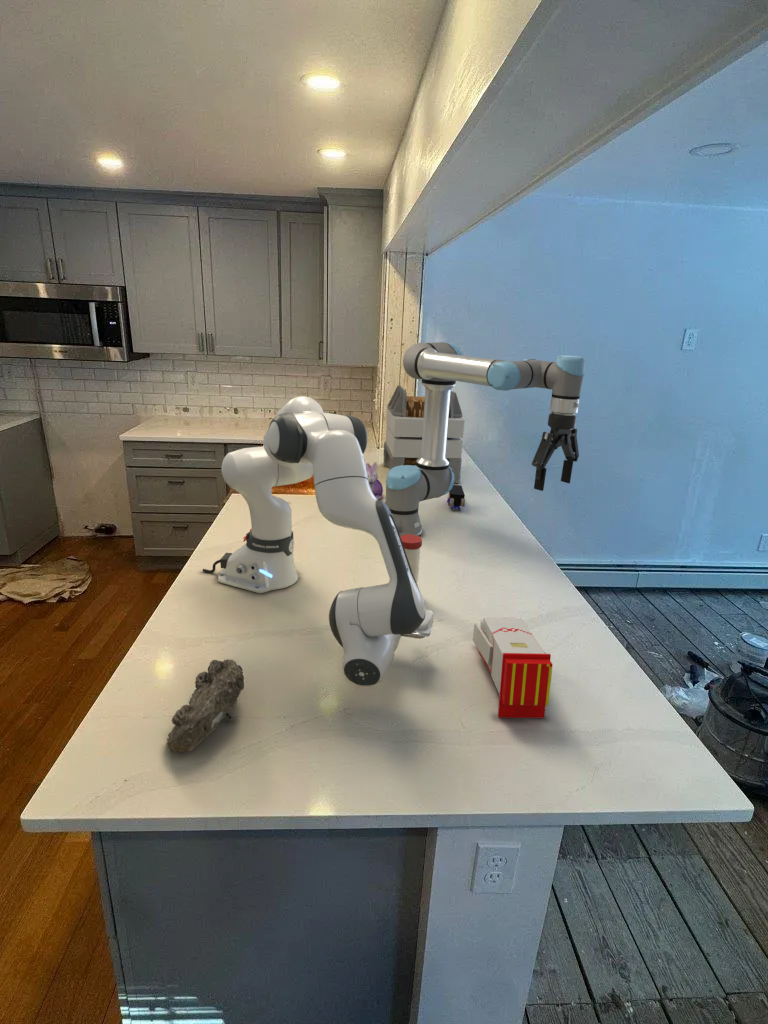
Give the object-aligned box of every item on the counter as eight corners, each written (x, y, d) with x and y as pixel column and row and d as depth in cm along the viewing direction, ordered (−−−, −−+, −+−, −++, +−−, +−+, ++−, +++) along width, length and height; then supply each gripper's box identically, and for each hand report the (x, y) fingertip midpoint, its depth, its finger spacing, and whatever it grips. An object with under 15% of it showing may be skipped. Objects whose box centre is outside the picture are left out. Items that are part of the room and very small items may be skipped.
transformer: (382, 463, 289) (386, 382, 275) (445, 464, 293) (451, 384, 279) (390, 482, 257) (394, 392, 243) (460, 483, 261) (468, 394, 247)
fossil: (192, 660, 117) (244, 628, 112) (224, 691, 120) (276, 661, 115) (142, 746, 98) (202, 712, 93) (182, 779, 101) (242, 748, 96)
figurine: (367, 502, 230) (368, 467, 225) (357, 495, 238) (358, 460, 233) (388, 500, 234) (389, 465, 229) (377, 492, 242) (378, 458, 237)
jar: (416, 594, 158) (420, 536, 152) (416, 603, 153) (420, 545, 147) (397, 592, 158) (400, 535, 153) (396, 602, 153) (399, 543, 147)
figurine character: (465, 515, 224) (460, 499, 237) (467, 498, 221) (462, 483, 234) (448, 515, 224) (444, 499, 237) (450, 498, 220) (445, 482, 234)
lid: (421, 541, 153) (422, 535, 152) (421, 550, 147) (422, 544, 147) (399, 539, 153) (399, 533, 153) (398, 548, 148) (398, 542, 147)
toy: (519, 602, 136) (561, 660, 107) (515, 654, 139) (554, 724, 109) (469, 601, 136) (497, 659, 106) (465, 653, 138) (492, 723, 109)
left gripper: (430, 625, 117) (438, 595, 130) (335, 611, 121) (353, 583, 134) (428, 651, 119) (437, 619, 132) (335, 637, 123) (352, 607, 136)
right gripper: (548, 419, 148) (537, 496, 155) (598, 411, 163) (586, 482, 171) (525, 414, 153) (515, 489, 160) (575, 407, 169) (564, 476, 176)
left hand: (394, 601), depth 133 cm, fingers open, 8 cm apart
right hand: (552, 485), depth 166 cm, fingers open, 13 cm apart
